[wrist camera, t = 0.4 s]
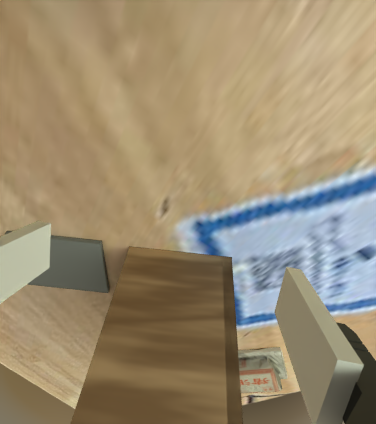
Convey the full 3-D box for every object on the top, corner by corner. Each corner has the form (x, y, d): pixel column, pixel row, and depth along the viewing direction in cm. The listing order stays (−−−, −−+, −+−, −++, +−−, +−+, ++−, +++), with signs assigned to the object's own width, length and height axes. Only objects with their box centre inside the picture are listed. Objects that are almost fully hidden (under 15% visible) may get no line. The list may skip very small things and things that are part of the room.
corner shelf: (129, 246, 36) (60, 454, 20) (231, 257, 36) (246, 475, 19) (134, 316, 46) (91, 493, 29) (214, 325, 45) (215, 507, 29)
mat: (7, 230, 36) (4, 234, 35) (101, 240, 35) (100, 244, 35) (29, 281, 42) (26, 284, 41) (109, 289, 42) (108, 293, 41)
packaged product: (195, 401, 55) (179, 379, 49) (196, 375, 58) (181, 351, 53) (292, 398, 50) (286, 373, 45) (286, 369, 54) (280, 343, 48)
